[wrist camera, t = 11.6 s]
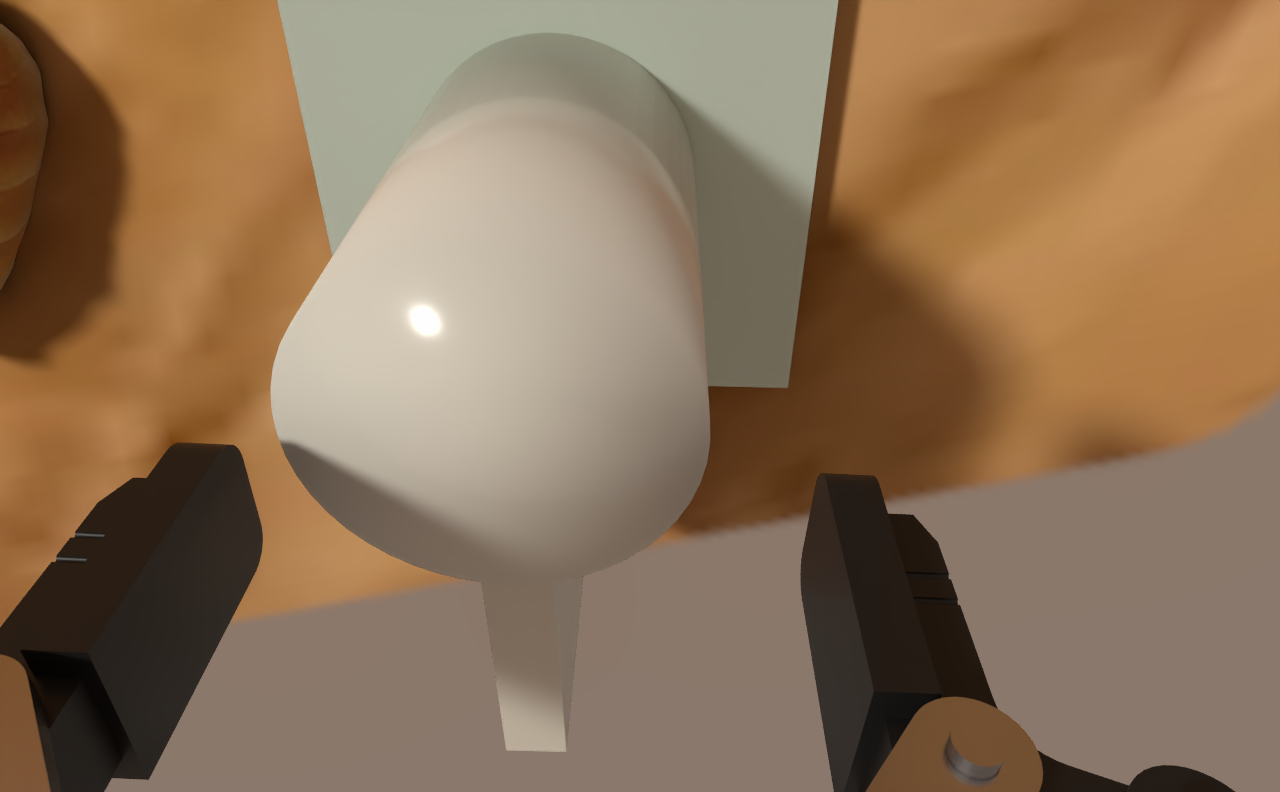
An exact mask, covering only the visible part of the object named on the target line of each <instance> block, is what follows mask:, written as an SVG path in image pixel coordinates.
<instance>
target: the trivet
mask: <svg viewBox="0 0 1280 792" xmlns="http://www.w3.org/2000/svg"><path fill="white" fill-rule="evenodd" d="M277 1H278V6H279V11H280V15H281V20H282V24H283V29H284V34H285V38H286V43H287V48H288V52H289V57H290V62H291V66H292V71H293V75H294V80H295V85H296V89H297V94H298V99H299V103H300V108H301V113H302V117H303V122H304V126H305V131H306V136H307V140H308V145H309V150H310V154H311V159H312V164H313V168H314V173H315V177H316V182H317V187H318V191H319V196H320V201H321V205H322V210H323V215H324V219H325V224H326V228H327V233H328V238H329V242H330V247H331V252H332V256H333V255H334V254H335V252H336V250H337V249H338V247H339V246H340V244H341V242H342V241H343V239H344V238H345V236H346V235H347V233H348V231H349V230H350V228H351V227H352V225H353V223H354V222H355V220H356V219H357V217H358V216H359V214H360V212H361V211H362V209H363V208H364V206H365V204H366V203H367V201H368V200H369V198H370V197H371V195H372V193H373V192H374V190H375V189H376V187H377V186H378V184H379V182H380V181H381V179H382V178H383V176H384V174H385V173H386V171H387V170H388V168H389V167H390V165H391V163H392V162H393V160H394V159H395V157H396V155H397V154H398V152H399V151H400V149H401V148H402V146H403V144H404V143H405V141H406V140H407V138H408V136H409V135H410V133H411V132H412V130H413V129H414V127H415V125H416V124H417V122H418V121H419V119H420V117H421V116H422V114H423V113H424V111H425V110H426V108H427V106H428V105H429V103H430V102H431V100H432V98H433V97H434V95H435V94H436V92H437V91H438V89H439V88H440V87H441V85H442V84H443V83H444V81H445V80H446V79H447V77H448V76H449V75H450V74H451V73H452V72H453V71H454V70H455V69H456V68H457V67H458V66H459V65H460V64H461V63H462V62H464V61H465V60H467V59H468V58H469V57H471V56H472V55H473V54H475V53H476V52H478V51H480V50H482V49H484V48H486V47H488V46H490V45H491V44H494V43H496V42H499V41H502V40H505V39H508V38H511V37H516V36H521V35H526V34H534V33H560V34H570V35H575V36H579V37H584V38H589V39H591V40H594V41H597V42H600V43H602V44H605V45H608V46H610V47H611V48H613V49H615V50H617V51H619V52H621V53H623V54H625V55H626V56H628V57H629V58H631V59H632V60H634V61H635V62H636V63H638V64H639V65H641V66H642V67H643V68H644V69H645V70H646V71H647V72H648V73H649V74H651V75H652V76H653V77H654V78H655V79H656V80H657V81H658V83H659V84H660V85H661V86H662V87H663V89H664V90H665V91H666V92H667V93H668V95H669V96H670V98H671V100H672V101H673V103H674V104H675V106H676V107H677V109H678V111H679V113H680V115H681V117H682V120H683V122H684V124H685V126H686V129H687V133H688V136H689V139H690V142H691V148H692V154H693V160H694V174H695V190H696V206H697V222H698V238H699V253H700V269H701V285H702V301H703V317H704V333H705V349H706V365H707V381H708V386H726V387H766V388H788V383H789V375H790V368H791V360H792V352H793V345H794V337H795V329H796V322H797V314H798V306H799V299H800V291H801V283H802V276H803V268H804V260H805V253H806V245H807V237H808V230H809V222H810V214H811V207H812V199H813V191H814V184H815V176H816V168H817V161H818V153H819V145H820V138H821V130H822V122H823V115H824V107H825V99H826V92H827V84H828V76H829V69H830V61H831V53H832V46H833V38H834V30H835V23H836V15H837V7H838V0H277Z"/></svg>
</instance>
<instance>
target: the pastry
mask: <svg viewBox="0 0 1280 792" xmlns="http://www.w3.org/2000/svg"><path fill="white" fill-rule="evenodd" d="M48 123H49V121H48V117H47V113H46V108H45V104H44V98H43V90H42V81H41V74H40V71H39V68H38V66H37V64H36V62H35V61H34V60H33V58H32V57H31V55H30V54H29V52H28V51H27V49H26V47H25V46H24V44H23V43H22V41H21V40H20V39H19V38H18V37H17V36H16V35H15V34H13V33H12V32H11V31H10V30H8V29H7V28H6V27H4V26H3V25H2V24H1V23H0V290H1V288H2V287H3V285H4V283H5V281H6V280H7V278H8V276H9V275H10V273H11V271H12V268H13V265H14V261H15V257H16V253H17V251H18V248H19V245H20V242H21V241H22V239H23V236H24V232H25V229H26V227H27V224H28V222H29V218H30V214H31V210H32V204H33V199H34V194H35V189H36V184H37V180H38V175H39V171H40V167H41V163H42V158H43V153H44V148H45V140H46V135H47V131H48Z"/></svg>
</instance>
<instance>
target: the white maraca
mask: <svg viewBox="0 0 1280 792" xmlns="http://www.w3.org/2000/svg"><path fill="white" fill-rule="evenodd" d="M271 406H272V414H273V419H274V423H275V428H276V432H277V435H278V438H279V441H280V443H281V446H282V448H283V451H284V453H285V456H286V457H287V459H288V461H289V463H290V465H291V466H292V468H293V470H294V472H295V473H296V475H297V477H298V478H299V479H300V481H301V482H302V483H303V485H304V486H305V487H306V489H307V490H308V491H309V493H310V494H311V495H312V496H313V497H314V498H315V499H316V501H317V502H318V503H319V504H320V505H321V506H322V507H323V508H324V509H325V510H326V511H327V512H328V513H329V514H330V515H331V516H333V517H334V518H335V519H336V520H337V521H338V522H340V523H341V524H342V525H343V526H344V527H346V528H347V529H348V530H350V531H351V532H353V533H354V534H356V535H357V536H358V537H360V538H361V539H363V540H364V541H366V542H367V543H369V544H371V545H373V546H374V547H376V548H378V549H380V550H382V551H383V552H385V553H387V554H389V555H391V556H393V557H396V558H398V559H400V560H402V561H405V562H407V563H409V564H412V565H414V566H417V567H420V568H423V569H426V570H429V571H432V572H435V573H439V574H443V575H447V576H451V577H455V578H459V579H465V580H471V581H478V582H481V584H482V590H483V596H484V604H485V610H486V617H487V624H488V630H489V636H490V644H491V651H492V657H493V664H494V671H495V677H496V683H497V691H498V696H499V704H500V711H501V717H502V724H503V731H504V737H505V743H506V750H519V751H522V750H523V751H558V752H559V751H560V752H566V751H567V741H568V730H569V720H570V710H571V700H572V689H573V679H574V668H575V659H576V648H577V637H578V628H579V617H580V607H581V597H582V586H583V577H584V575H587V574H591V573H594V572H597V571H600V570H603V569H606V568H608V567H610V566H612V565H615V564H617V563H619V562H622V561H624V560H626V559H628V558H629V557H631V556H633V555H635V554H636V553H638V552H640V551H641V550H643V549H645V548H646V547H647V546H649V545H650V544H651V543H653V542H654V541H655V540H657V539H658V538H659V537H661V536H662V535H663V534H664V533H665V532H666V531H667V530H668V529H669V528H670V527H671V526H672V525H673V524H674V523H675V522H676V521H677V520H678V519H679V517H680V516H681V515H682V513H683V512H684V511H685V509H686V508H687V506H688V505H689V504H690V502H691V500H692V499H693V497H694V495H695V493H696V491H697V489H698V487H699V485H700V483H701V480H702V477H703V474H704V471H705V468H706V465H707V460H708V454H709V447H710V412H709V397H708V381H707V365H706V349H705V333H704V317H703V301H702V285H701V269H700V253H699V238H698V222H697V206H696V190H695V174H694V160H693V154H692V148H691V142H690V139H689V136H688V133H687V129H686V126H685V124H684V122H683V120H682V117H681V115H680V113H679V111H678V109H677V107H676V106H675V104H674V103H673V101H672V100H671V98H670V96H669V95H668V93H667V92H666V91H665V90H664V89H663V87H662V86H661V85H660V84H659V83H658V81H657V80H656V79H655V78H654V77H653V76H652V75H651V74H649V73H648V72H647V71H646V70H645V69H644V68H643V67H642V66H641V65H639V64H638V63H636V62H635V61H634V60H632V59H631V58H629V57H628V56H626V55H625V54H623V53H621V52H619V51H617V50H615V49H613V48H611V47H610V46H608V45H605V44H602V43H600V42H597V41H594V40H591V39H589V38H584V37H579V36H575V35H570V34H560V33H534V34H526V35H521V36H516V37H511V38H508V39H505V40H502V41H499V42H496V43H494V44H491V45H490V46H488V47H486V48H484V49H482V50H480V51H478V52H476V53H475V54H473V55H472V56H471V57H469V58H468V59H467V60H465V61H464V62H462V63H461V64H460V65H459V66H458V67H457V68H456V69H455V70H454V71H453V72H452V73H451V74H450V75H449V76H448V77H447V79H446V80H445V81H444V83H443V84H442V85H441V87H440V88H439V89H438V91H437V92H436V94H435V95H434V97H433V98H432V100H431V102H430V103H429V105H428V106H427V108H426V110H425V111H424V113H423V114H422V116H421V117H420V119H419V121H418V122H417V124H416V125H415V127H414V129H413V130H412V132H411V133H410V135H409V136H408V138H407V140H406V141H405V143H404V144H403V146H402V148H401V149H400V151H399V152H398V154H397V155H396V157H395V159H394V160H393V162H392V163H391V165H390V167H389V168H388V170H387V171H386V173H385V174H384V176H383V178H382V179H381V181H380V182H379V184H378V186H377V187H376V189H375V190H374V192H373V193H372V195H371V197H370V198H369V200H368V201H367V203H366V204H365V206H364V208H363V209H362V211H361V212H360V214H359V216H358V217H357V219H356V220H355V222H354V223H353V225H352V227H351V228H350V230H349V231H348V233H347V235H346V236H345V238H344V239H343V241H342V242H341V244H340V246H339V247H338V249H337V250H336V252H335V254H334V255H333V257H332V258H331V260H330V261H329V263H328V265H327V266H326V268H325V269H324V271H323V273H322V274H321V276H320V277H319V279H318V280H317V282H316V284H315V285H314V287H313V288H312V290H311V292H310V293H309V295H308V296H307V298H306V299H305V301H304V303H303V304H302V306H301V307H300V309H299V311H298V312H297V314H296V315H295V317H294V318H293V320H292V322H291V323H290V325H289V327H288V329H287V331H286V333H285V335H284V337H283V339H282V341H281V343H280V345H279V349H278V352H277V355H276V358H275V362H274V365H273V372H272V380H271Z"/></svg>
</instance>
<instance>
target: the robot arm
mask: <svg viewBox="0 0 1280 792" xmlns="http://www.w3.org/2000/svg"><path fill="white" fill-rule="evenodd" d="M262 542H263V535H262V527H261V522H260V519H259V515H258V511H257V508H256V504H255V501H254V497H253V493H252V490H251V486H250V482H249V479H248V475H247V472H246V468H245V464H244V461H243V457H242V455H241V453H240V451H239V449H238V448H237V447H236V446H234V445H224V444H202V443H175V444H173V445H172V446H171V447H170V448H169V449H168V450H167V451H166V453H165V454H164V455H163V457H162V458H161V459H160V461H159V462H158V463H157V465H156V466H155V467H154V469H153V470H152V472H151V473H150V474H149V476H148V477H147V478H132V479H131V480H129V481H128V482H126V483H125V484H124V485H122V486H121V487H119V488H118V489H116V490H115V491H114V492H112V493H111V494H109V495H108V496H107V497H105V498H104V499H102V500H101V501H99V502H98V503H97V504H96V506H95V507H94V508H93V510H92V511H91V512H90V513H89V515H88V516H87V517H86V519H85V520H84V521H83V522H82V524H81V525H80V526H79V527H78V529H77V530H76V531H75V537H74V538H70V539H69V540H68V542H67V543H66V544H65V545H64V547H63V548H62V549H61V551H60V552H59V553H58V554H57V559H56V562H51V563H50V565H49V566H48V567H47V568H46V570H45V571H44V572H43V574H42V575H41V576H40V577H39V579H38V580H37V581H36V583H35V584H34V585H33V586H32V588H31V589H30V590H29V591H28V593H27V594H26V595H25V597H24V598H23V599H22V600H21V602H20V603H19V604H18V606H17V607H16V608H15V609H14V611H13V612H12V613H11V614H10V616H9V617H8V618H7V620H6V621H5V622H4V623H3V625H2V626H1V627H0V792H104V791H105V789H106V787H107V785H108V783H109V782H110V780H111V778H124V779H147V780H148V779H149V778H150V776H151V774H152V772H153V770H154V768H155V766H156V764H157V762H158V760H159V758H160V757H161V755H162V753H163V751H164V749H165V747H166V745H167V743H168V741H169V739H170V737H171V735H172V733H173V731H174V729H175V728H176V726H177V723H178V722H179V720H180V718H181V716H182V714H183V712H184V710H185V708H186V706H187V704H188V702H189V700H190V698H191V696H192V695H193V693H194V690H195V689H196V686H197V685H198V683H199V681H200V679H201V677H202V675H203V673H204V671H205V669H206V667H207V665H208V663H209V662H210V659H211V658H212V656H213V654H214V652H215V650H216V648H217V646H218V644H219V642H220V640H221V638H222V636H223V634H224V632H225V630H226V629H227V627H228V625H229V623H230V621H231V619H232V617H233V615H234V613H235V611H236V609H237V607H238V605H239V603H240V601H241V599H242V597H243V596H244V594H245V592H246V590H247V588H248V586H249V584H250V582H251V580H252V578H253V576H254V574H255V572H256V570H257V567H258V565H259V561H260V557H261V552H262ZM948 574H949V573H948V570H947V567H946V564H945V561H944V559H943V556H942V553H941V550H940V547H939V544H938V542H937V541H936V540H935V539H934V538H933V537H932V535H931V534H930V533H929V532H928V531H927V530H926V529H925V528H924V527H923V525H922V524H921V523H920V522H919V521H918V520H917V519H916V518H915V517H914V515H906V514H888V512H887V509H886V506H885V502H884V499H883V496H882V492H881V489H880V486H879V483H878V480H877V479H876V477H875V476H869V475H847V474H824V473H821V474H820V475H819V477H818V479H817V482H816V486H815V491H814V496H813V501H812V506H811V511H810V516H809V521H808V527H807V532H806V537H805V542H804V547H803V552H802V559H801V594H802V601H803V607H804V613H805V619H806V625H807V631H808V637H809V644H810V650H811V656H812V661H813V668H814V674H815V680H816V686H817V692H818V698H819V703H820V710H821V716H822V722H823V728H824V734H825V740H826V746H827V752H828V758H829V764H830V770H831V776H832V782H833V789H834V792H1235V791H1233V790H1232V789H1230V788H1229V787H1228V786H1226V785H1225V784H1223V783H1221V782H1220V781H1218V780H1216V779H1214V778H1212V777H1210V776H1208V775H1206V774H1203V773H1201V772H1199V771H1195V770H1192V769H1189V768H1185V767H1179V766H1169V765H1168V766H1166V765H1162V766H1156V767H1151V768H1149V769H1146V770H1144V771H1143V772H1141V773H1140V774H1138V775H1137V776H1136V777H1135V778H1134V780H1133V781H1132V782H1131V784H1130V785H1129V786H1128V785H1125V784H1122V783H1119V782H1116V781H1113V780H1110V779H1107V778H1104V777H1101V776H1098V775H1095V774H1092V773H1089V772H1086V771H1083V770H1080V769H1077V768H1074V767H1071V766H1068V765H1066V764H1063V763H1061V762H1058V761H1056V760H1054V759H1052V758H1050V757H1048V756H1046V755H1044V754H1043V753H1041V752H1040V751H1038V750H1037V749H1036V747H1035V745H1034V743H1033V741H1032V740H1031V739H1030V737H1029V736H1028V735H1027V733H1026V732H1025V731H1024V730H1023V729H1022V728H1021V726H1019V724H1018V723H1016V722H1015V721H1014V720H1012V718H1010V717H1009V716H1008V715H1006V714H1005V713H1003V712H1002V711H1000V710H998V708H997V706H996V704H995V702H994V699H993V697H992V694H991V691H990V688H989V686H988V683H987V680H986V677H985V674H984V671H983V668H982V666H981V663H980V660H979V657H978V654H977V652H976V649H975V646H974V643H973V640H972V637H971V635H970V632H969V629H968V626H967V623H966V621H965V618H964V615H963V612H962V609H961V606H960V605H958V603H957V600H958V598H957V595H956V592H955V590H954V587H953V584H952V581H951V579H949V577H948Z"/></svg>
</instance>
